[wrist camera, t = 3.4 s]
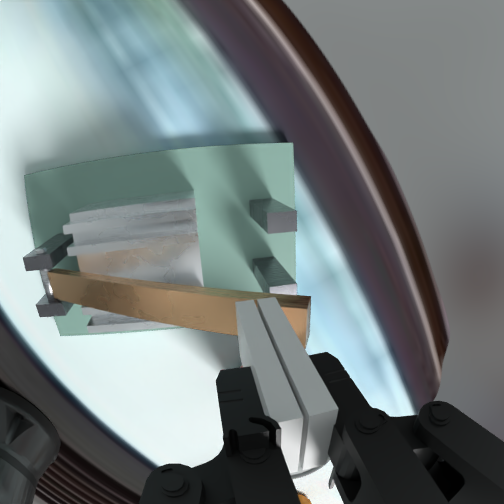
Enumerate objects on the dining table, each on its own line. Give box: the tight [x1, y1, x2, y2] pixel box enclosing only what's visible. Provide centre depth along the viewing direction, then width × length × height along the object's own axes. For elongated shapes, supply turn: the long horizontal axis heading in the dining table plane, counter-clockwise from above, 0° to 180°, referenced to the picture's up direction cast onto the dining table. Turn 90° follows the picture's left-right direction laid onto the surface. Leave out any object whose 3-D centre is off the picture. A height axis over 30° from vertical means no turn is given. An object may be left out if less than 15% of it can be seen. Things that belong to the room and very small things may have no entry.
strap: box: [48, 268, 311, 349], centre depth 16 cm, size 17×2×1 cm, turn 93°
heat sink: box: [63, 190, 204, 333], centre depth 22 cm, size 9×9×6 cm
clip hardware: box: [23, 198, 297, 317], centre depth 23 cm, size 19×7×8 cm, turn 93°
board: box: [24, 143, 296, 336], centre depth 26 cm, size 24×16×1 cm, turn 93°
